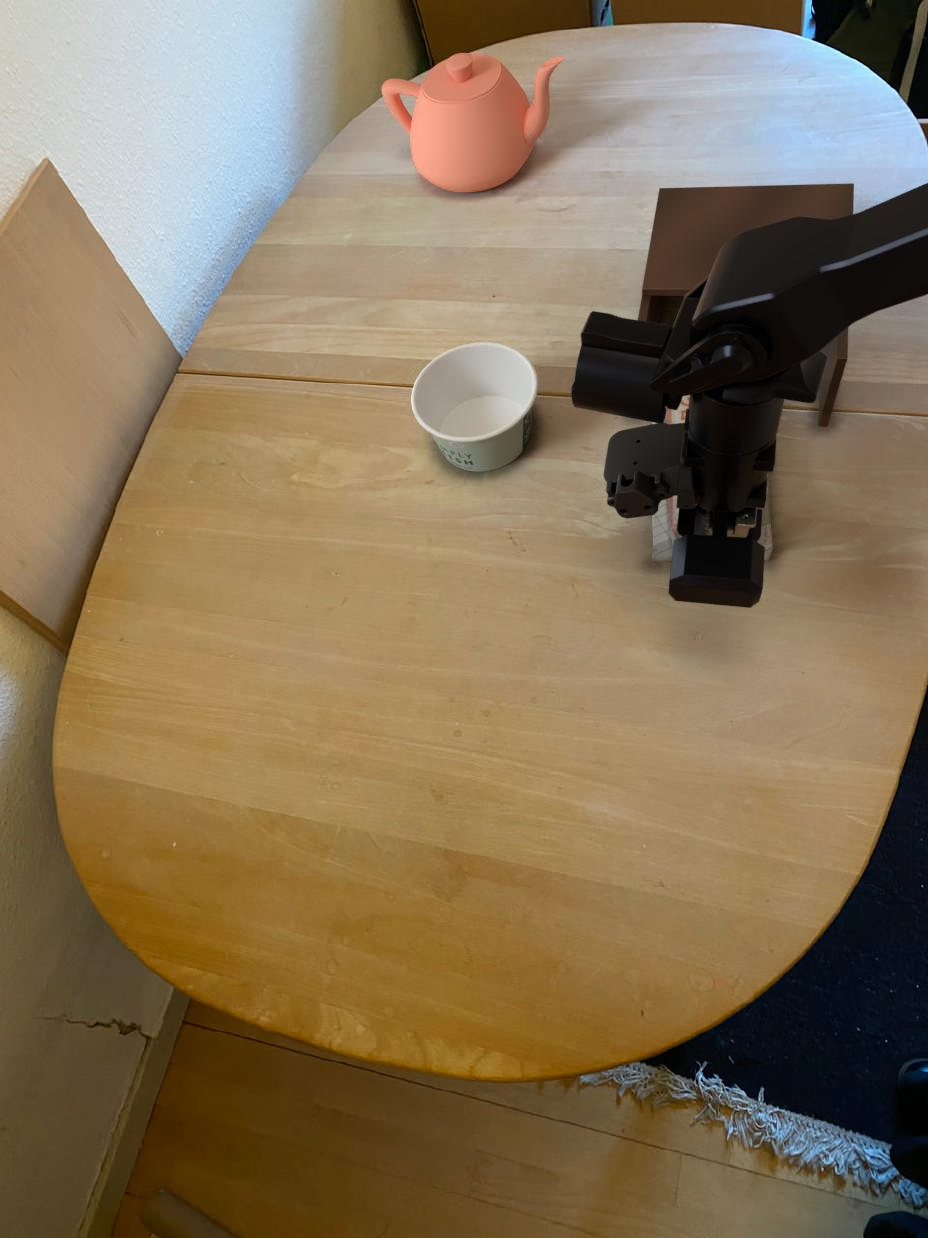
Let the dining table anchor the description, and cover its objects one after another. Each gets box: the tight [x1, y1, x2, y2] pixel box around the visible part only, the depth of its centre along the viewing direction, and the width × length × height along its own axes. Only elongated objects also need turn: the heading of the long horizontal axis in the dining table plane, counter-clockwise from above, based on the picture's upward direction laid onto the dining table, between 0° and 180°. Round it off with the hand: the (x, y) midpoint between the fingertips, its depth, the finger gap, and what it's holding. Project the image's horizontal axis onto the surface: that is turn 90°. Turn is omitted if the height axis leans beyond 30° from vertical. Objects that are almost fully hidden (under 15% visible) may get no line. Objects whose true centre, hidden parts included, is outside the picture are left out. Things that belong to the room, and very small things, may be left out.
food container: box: [410, 341, 539, 473], centre depth 80 cm, size 12×12×6 cm
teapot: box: [381, 52, 565, 193], centre depth 98 cm, size 22×15×12 cm
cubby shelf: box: [637, 182, 855, 427], centre depth 79 cm, size 18×21×9 cm
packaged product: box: [651, 395, 774, 563], centre depth 74 cm, size 18×5×10 cm
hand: (713, 549), depth 69 cm, fingers closed
